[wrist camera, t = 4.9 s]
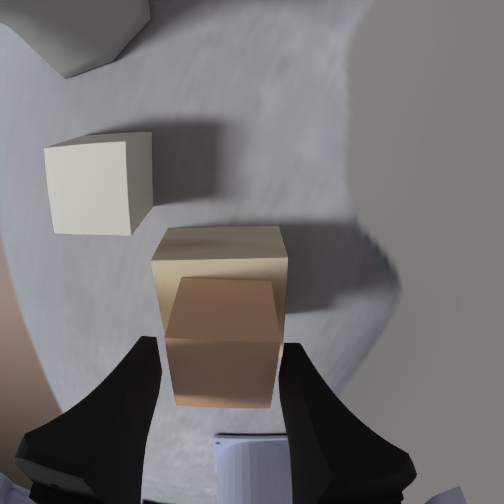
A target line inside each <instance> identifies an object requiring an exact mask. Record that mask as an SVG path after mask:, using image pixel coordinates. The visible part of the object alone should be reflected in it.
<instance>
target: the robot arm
mask: <svg viewBox="0 0 504 504" xmlns="http://www.w3.org/2000/svg"><path fill="white" fill-rule="evenodd" d="M161 376H162V368H161V362H160V356H159V350H158V344H157V338H156V337H148V336H141V337H140V338H139V340H138V341H137V342H136V344H135V345H134V346H133V347H132V349H131V350H130V351H129V352H128V354H127V355H126V356H125V357H124V358H123V360H122V361H121V362H120V363H119V364H118V365H117V367H116V368H115V369H114V370H113V371H112V372H111V373H110V374H109V375H108V376H107V377H106V378H105V379H104V381H103V382H102V383H101V384H100V385H99V386H98V387H96V388H95V389H94V390H93V391H92V392H91V393H90V394H89V395H88V396H86V397H85V398H84V399H83V400H82V401H80V402H79V403H78V404H76V405H75V406H74V407H72V408H71V409H70V410H68V411H67V412H65V413H64V414H62V415H60V416H59V417H57V418H56V419H54V420H52V421H50V422H49V423H47V424H45V425H43V426H41V427H39V428H37V429H34V430H32V431H30V432H28V433H25V435H24V437H23V439H22V440H21V443H20V445H19V448H18V450H17V453H16V455H15V458H14V462H15V464H16V466H17V467H18V468H19V469H20V470H21V471H22V472H23V473H24V474H25V475H26V476H27V477H28V478H29V479H30V480H32V482H33V485H32V488H31V491H29V490H26V489H24V488H22V487H20V486H18V485H15V484H13V483H12V482H11V481H10V480H9V479H8V478H7V477H6V476H4V475H3V474H1V473H0V504H141V486H142V473H143V463H144V455H145V447H146V441H147V436H148V432H149V428H150V425H151V421H152V417H153V413H154V410H155V406H156V402H157V398H158V395H159V390H160V383H161ZM279 393H280V401H281V407H282V412H283V417H284V422H285V428H286V433H287V435H281V436H230V435H215V436H213V452H214V466H215V475H217V498H216V504H401V501H402V500H403V499H404V498H403V494H402V491H403V490H404V489H405V488H406V487H407V486H409V485H410V484H411V483H412V482H413V481H414V479H415V478H416V475H417V473H416V470H415V467H414V465H413V462H412V460H411V458H410V457H409V454H408V453H406V452H405V451H403V450H401V449H399V448H398V447H396V446H394V445H392V444H391V443H389V442H388V441H386V440H384V439H383V438H382V437H380V436H379V435H377V434H376V433H375V432H373V431H372V430H371V429H370V428H369V427H367V426H366V425H365V424H363V423H362V422H361V421H360V420H359V419H358V418H357V417H356V416H355V415H354V414H353V413H351V412H350V411H349V410H348V409H347V408H346V406H345V405H344V404H343V403H342V402H341V401H340V400H339V399H338V398H337V396H336V395H335V394H334V393H333V392H332V390H331V389H330V388H329V386H328V385H327V384H326V383H325V381H324V380H323V378H322V377H321V376H320V374H319V373H318V371H317V370H316V368H315V367H314V365H313V364H312V362H311V361H310V359H309V357H308V356H307V354H306V352H305V350H304V349H303V347H302V345H301V344H300V343H284V348H283V354H282V360H281V365H280V371H279ZM425 504H467V503H466V501H465V498H464V495H463V493H462V490H461V487H459V486H458V487H456V488H453V489H451V490H448V491H446V492H443V493H440V494H438V495H436V496H434V497H432V498H431V499H429V500H428V501H427V502H426V503H425Z"/></svg>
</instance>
